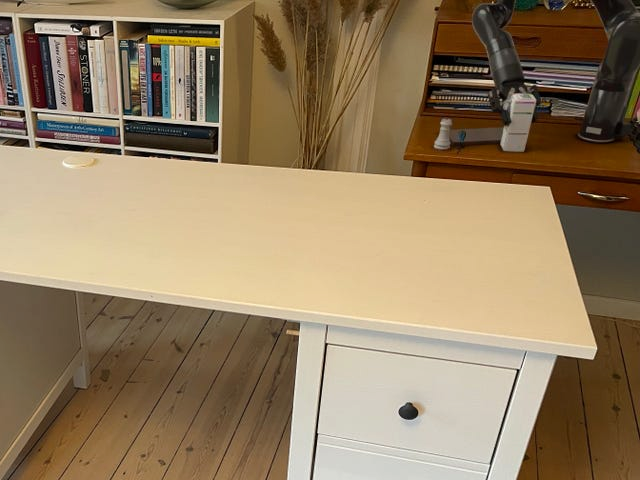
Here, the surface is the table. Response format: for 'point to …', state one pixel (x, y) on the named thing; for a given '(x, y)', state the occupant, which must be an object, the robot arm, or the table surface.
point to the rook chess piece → (443, 135)
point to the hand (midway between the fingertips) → (521, 123)
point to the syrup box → (518, 122)
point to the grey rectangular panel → (477, 136)
